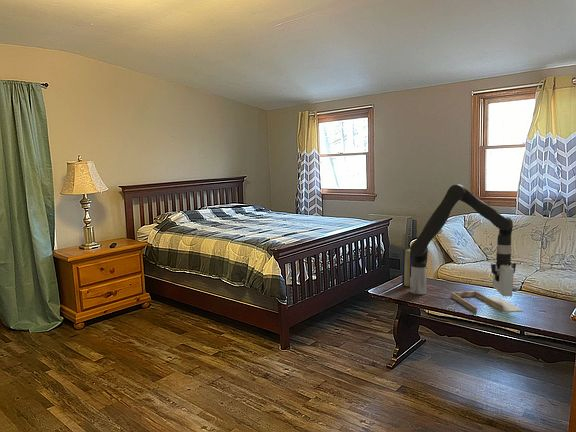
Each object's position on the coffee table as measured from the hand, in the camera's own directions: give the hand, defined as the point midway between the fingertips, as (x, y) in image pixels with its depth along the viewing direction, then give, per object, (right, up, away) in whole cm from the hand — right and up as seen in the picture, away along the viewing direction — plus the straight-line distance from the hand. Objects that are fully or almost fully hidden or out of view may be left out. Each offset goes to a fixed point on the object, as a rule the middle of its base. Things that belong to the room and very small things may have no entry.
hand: (502, 280), depth 250 cm
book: (-36, -9, +49) cm, 61 cm away
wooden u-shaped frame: (-14, -14, +4) cm, 20 cm away
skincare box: (0, -6, +1) cm, 6 cm away
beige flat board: (0, -14, +2) cm, 14 cm away
